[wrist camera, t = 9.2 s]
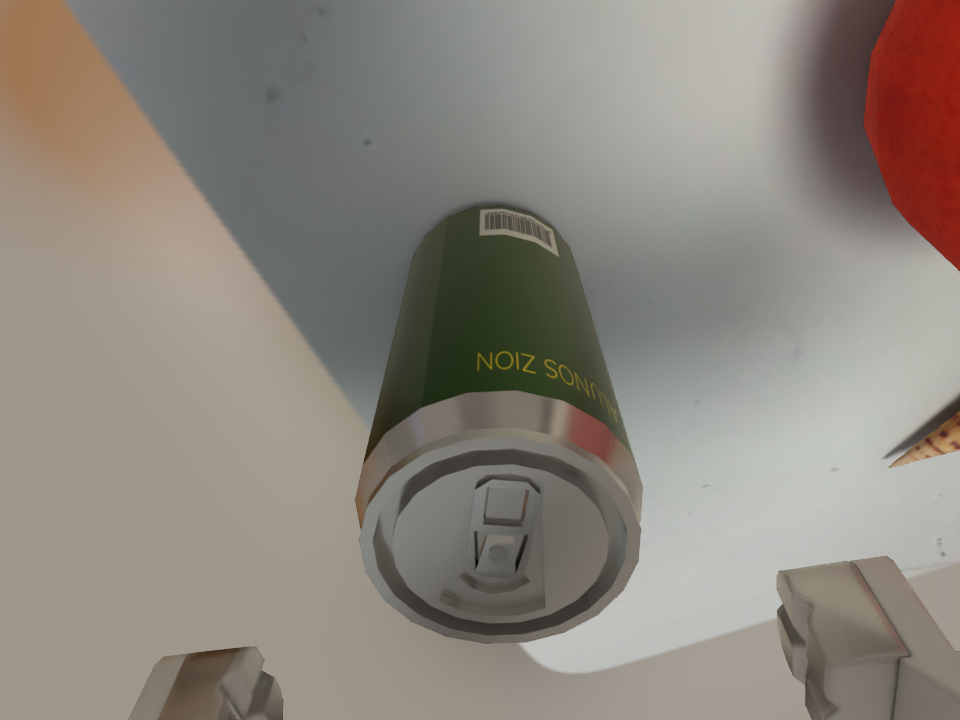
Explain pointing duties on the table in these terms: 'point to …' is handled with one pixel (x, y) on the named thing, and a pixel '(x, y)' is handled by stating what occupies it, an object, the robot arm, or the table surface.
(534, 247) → the guarana soda tin
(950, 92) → the apple
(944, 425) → the seashell
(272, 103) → the table surface
